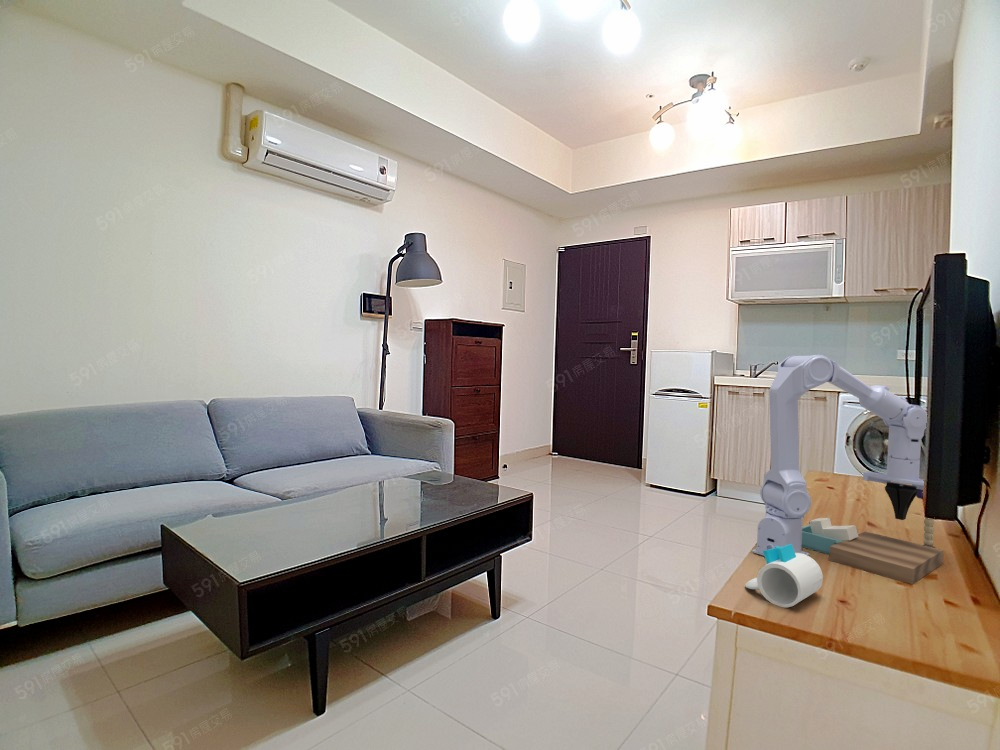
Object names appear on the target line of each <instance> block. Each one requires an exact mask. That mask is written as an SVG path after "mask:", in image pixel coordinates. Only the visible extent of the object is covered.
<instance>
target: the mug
mask: <svg viewBox="0 0 1000 750" xmlns="http://www.w3.org/2000/svg"><path fill="white" fill-rule="evenodd" d="M774 547H775V548H774V549H769V550H765V551H763V553H764V559H765V563H766V564H764V565H763V566H762V567H761V568H760V569H759V571H758V572H757V577H754V578H752V579H749V580H748V581H747V582H746V583H745V584H744V586H745V588H746V589H749V590H757V591H760V593H761V595H763V597H764V598H765V600H766V601H768V602H770V603H771V604H773V605H775V606H778V607H780V608H785V609H787V608H790V607H791V608H792V607H793V606H795V605H797V604H799V603H800V602H801V601H803V600H805V599H806V598H809V597H810V596H811V595H813V594H814V593H817V592H818V590H819V589H821V587H822V585H823V583H824V582H823V581H824V576H823V571H822V569H821V566H820V565H819V563H818V562H817V561H816V560H815V559H813V557H811V556H810V555H809V556H807V555H805V554H802V553H795V552H794V549H793V546H792V544H789V545H786V546H783V547H779V546H774Z"/></svg>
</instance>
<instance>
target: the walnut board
mask: <svg viewBox="0 0 1000 750" xmlns="http://www.w3.org/2000/svg"><path fill="white" fill-rule="evenodd" d="M858 536H859V537H857V538H854V539H852V540H844V541H842V542H839V543H837V544H835V545H832V546H830V555H829V554H828V555H829V559H828V561H830V562H834V563H837V564H839V565H840V564H841V565H844V566H847V567H850V568H854V569H857V570H860V571H861V570H862V571H865V572H869V573H871V574H874V575H875V574H876V575H878V576H882V577H885V578H888V579H892V580H895V581H898V582H902V583H905V584H909V585H914V584H915V583H916V582H918V581H919V580H922V579H923V578H924V577H926V576H927V575H928V574H930V573H932V572H933V571H934V570H936V569H938V568H939V567H940V566H942V565H943V564H944V549H940V548H937V547H935V548H933V547H929V546H924V544H920V543H915V542H911V541H908V540H904V539H903V540H902V539H898V538H895V537H891V536H887V535H881V534H878V533H874V532H873V533H872V532H869V531H864V532H861V533H858Z"/></svg>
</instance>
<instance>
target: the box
mask: <svg viewBox="0 0 1000 750" xmlns="http://www.w3.org/2000/svg"><path fill="white" fill-rule="evenodd" d="M842 541H844V540H835V539H831V538H827V537H823V536H820V535H816V534H812V531H811V527H810V524H807V525H804V526H802V546H801V548H804V549H808V550H812V551H815V552H819V553H822V554H825V555H830V546H832V545H835V544H837V543H839V542H842Z"/></svg>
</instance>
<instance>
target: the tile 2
mask: <svg viewBox="0 0 1000 750" xmlns="http://www.w3.org/2000/svg"><path fill="white" fill-rule="evenodd" d="M823 532H824V536H825V537H827V538H831V539H835V540H852V539H854V538H857V537H859V536H858V534H859V533H858V530H857V526H856V525H832V526H830V527H828V528H825V529H823Z"/></svg>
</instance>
